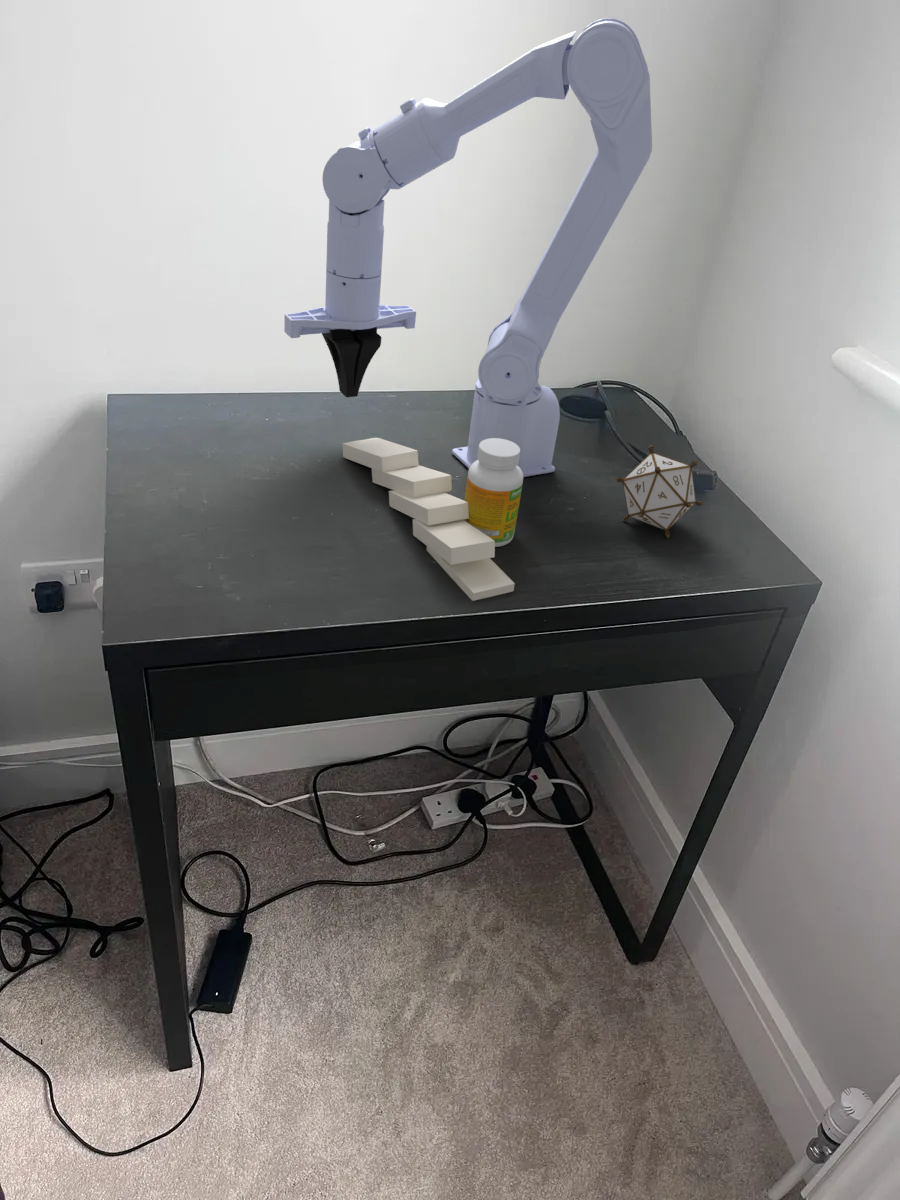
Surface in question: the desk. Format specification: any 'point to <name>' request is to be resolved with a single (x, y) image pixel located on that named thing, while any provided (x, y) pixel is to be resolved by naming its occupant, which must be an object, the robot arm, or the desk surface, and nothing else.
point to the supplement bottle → (495, 489)
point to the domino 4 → (455, 541)
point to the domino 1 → (380, 454)
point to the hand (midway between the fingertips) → (348, 393)
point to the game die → (659, 491)
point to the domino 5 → (477, 577)
